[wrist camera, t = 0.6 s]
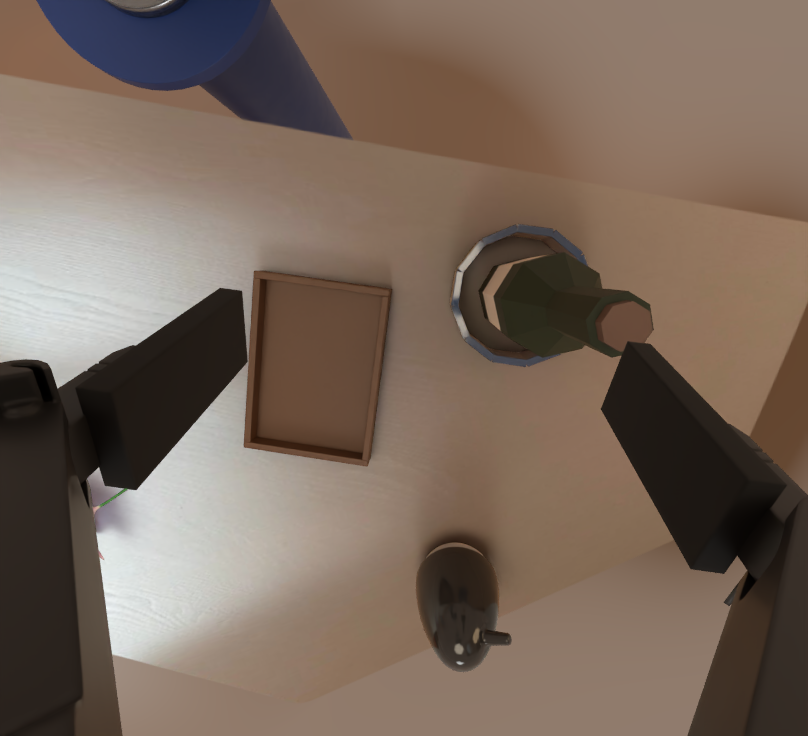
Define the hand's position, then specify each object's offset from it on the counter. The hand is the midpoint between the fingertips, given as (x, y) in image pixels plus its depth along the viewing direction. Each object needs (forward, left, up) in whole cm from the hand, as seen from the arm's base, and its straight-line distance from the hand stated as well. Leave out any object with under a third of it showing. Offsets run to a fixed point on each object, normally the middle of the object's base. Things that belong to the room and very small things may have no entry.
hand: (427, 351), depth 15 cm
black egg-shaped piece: (+35, +9, -37) cm, 51 cm away
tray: (+11, -12, -37) cm, 40 cm away
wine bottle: (-1, +10, -37) cm, 38 cm away
